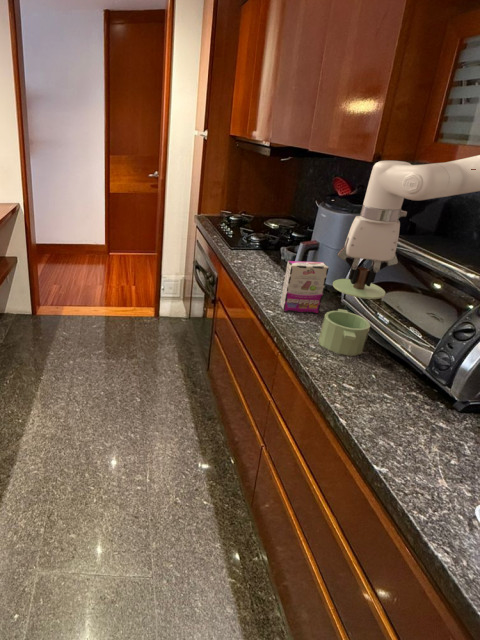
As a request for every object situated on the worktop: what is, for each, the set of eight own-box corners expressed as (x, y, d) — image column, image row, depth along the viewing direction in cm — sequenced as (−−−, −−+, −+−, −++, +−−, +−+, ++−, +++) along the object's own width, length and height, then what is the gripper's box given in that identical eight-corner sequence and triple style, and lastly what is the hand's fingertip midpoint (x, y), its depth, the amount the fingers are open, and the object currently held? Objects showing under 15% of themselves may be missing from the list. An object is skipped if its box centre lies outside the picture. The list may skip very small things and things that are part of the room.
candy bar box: (313, 306, 131) (324, 261, 125) (318, 313, 126) (330, 267, 120) (278, 304, 133) (287, 259, 127) (282, 311, 128) (292, 265, 122)
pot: (357, 336, 114) (364, 310, 110) (367, 366, 100) (375, 338, 97) (316, 328, 118) (322, 304, 114) (320, 356, 104) (327, 329, 101)
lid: (379, 286, 104) (385, 264, 101) (389, 304, 94) (396, 281, 92) (329, 279, 108) (335, 258, 106) (334, 296, 99) (340, 273, 96)
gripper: (415, 213, 93) (393, 283, 100) (338, 207, 100) (323, 273, 107) (425, 221, 87) (401, 294, 94) (342, 214, 93) (325, 283, 100)
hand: (359, 282), depth 100 cm, fingers closed on lid, 2 cm apart
